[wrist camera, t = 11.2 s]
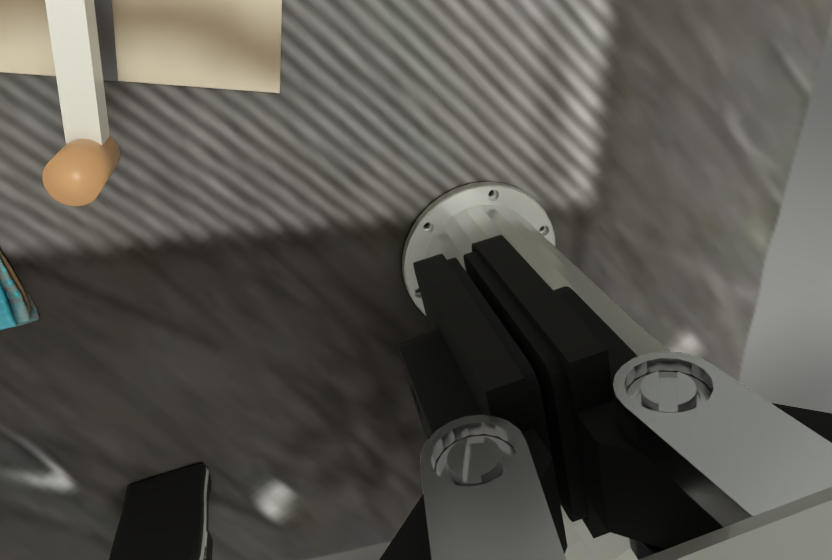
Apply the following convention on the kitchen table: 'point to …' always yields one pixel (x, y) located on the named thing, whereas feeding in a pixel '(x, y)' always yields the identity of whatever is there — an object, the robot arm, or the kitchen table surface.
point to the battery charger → (166, 518)
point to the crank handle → (79, 106)
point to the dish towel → (14, 299)
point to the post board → (160, 41)
